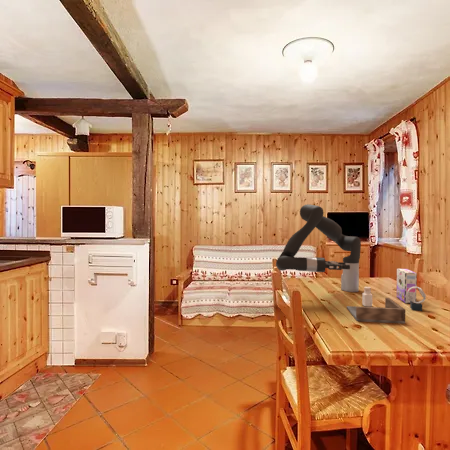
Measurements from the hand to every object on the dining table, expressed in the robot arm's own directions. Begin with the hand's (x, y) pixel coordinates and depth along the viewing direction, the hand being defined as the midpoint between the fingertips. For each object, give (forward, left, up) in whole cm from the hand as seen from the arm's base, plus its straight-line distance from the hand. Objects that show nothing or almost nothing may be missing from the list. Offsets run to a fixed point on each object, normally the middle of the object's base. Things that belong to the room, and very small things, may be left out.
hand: (347, 265), depth 163 cm
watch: (+27, +18, -20) cm, 38 cm away
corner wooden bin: (+16, -7, -20) cm, 27 cm away
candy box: (+18, +32, -20) cm, 42 cm away
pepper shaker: (+8, +6, -20) cm, 23 cm away
